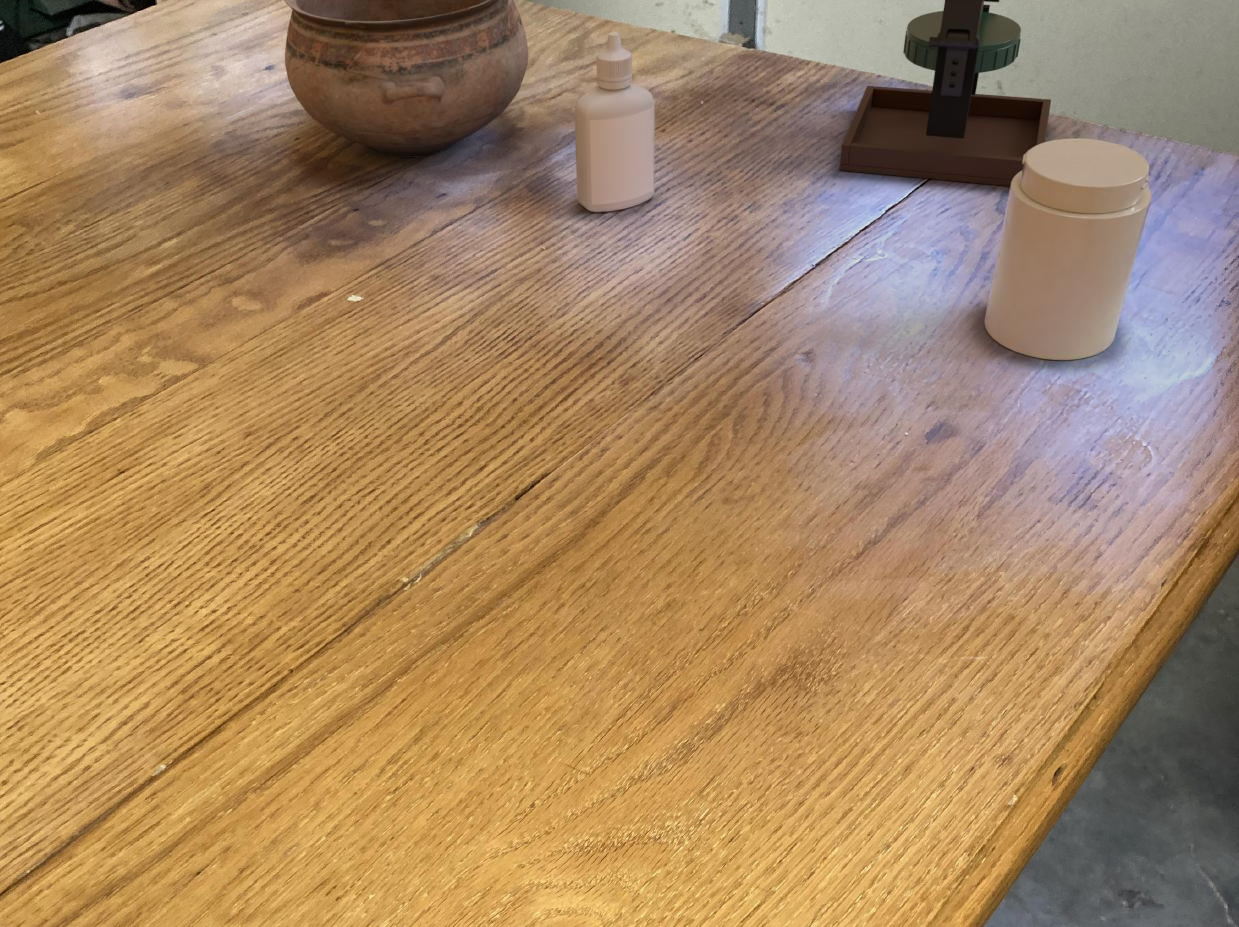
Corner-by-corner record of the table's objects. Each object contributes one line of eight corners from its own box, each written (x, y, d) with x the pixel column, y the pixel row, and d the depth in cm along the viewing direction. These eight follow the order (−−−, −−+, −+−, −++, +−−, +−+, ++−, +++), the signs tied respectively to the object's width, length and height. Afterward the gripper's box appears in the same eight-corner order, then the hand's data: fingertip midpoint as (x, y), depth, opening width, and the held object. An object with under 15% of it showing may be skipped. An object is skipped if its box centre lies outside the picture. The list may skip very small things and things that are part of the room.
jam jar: (1115, 305, 82) (1159, 140, 76) (1113, 368, 77) (1159, 196, 70) (989, 291, 85) (1020, 129, 78) (978, 351, 79) (1011, 183, 72)
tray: (1046, 124, 104) (1051, 99, 103) (1036, 189, 95) (1042, 162, 94) (864, 109, 108) (867, 85, 107) (839, 170, 99) (842, 144, 98)
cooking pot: (555, 192, 99) (547, 24, 91) (301, 220, 97) (271, 51, 89) (512, 75, 118) (502, -73, 110) (299, 96, 116) (274, -52, 108)
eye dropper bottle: (653, 213, 95) (654, 44, 87) (575, 214, 96) (570, 45, 88) (654, 187, 99) (656, 22, 91) (579, 188, 99) (574, 23, 91)
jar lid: (888, 65, 96) (891, 39, 95) (922, 30, 101) (925, 4, 100) (1000, 80, 93) (1004, 52, 92) (1029, 43, 98) (1034, 16, 97)
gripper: (961, -264, 94) (918, 61, 108) (925, -203, 79) (881, 163, 94) (1072, -264, 91) (1013, 68, 106) (1057, -201, 77) (991, 173, 92)
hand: (951, 112), depth 100 cm, fingers closed on jar lid, 8 cm apart
